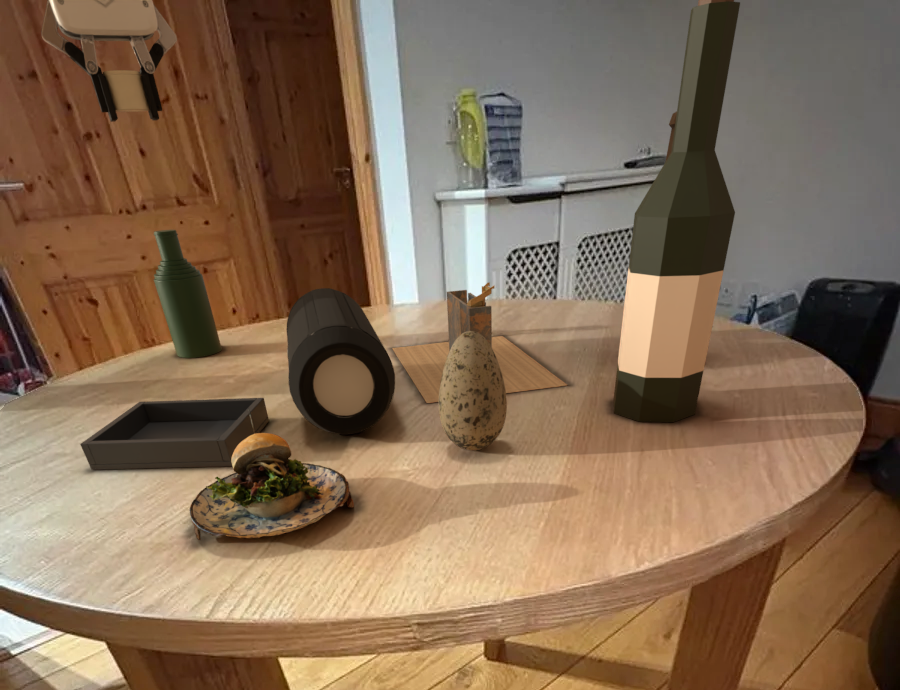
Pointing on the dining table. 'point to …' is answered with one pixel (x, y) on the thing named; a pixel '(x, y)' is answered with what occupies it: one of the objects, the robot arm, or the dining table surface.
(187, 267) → the bottle
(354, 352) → the portable speaker
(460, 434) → the decorative egg
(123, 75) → the cap
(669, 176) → the wine bottle
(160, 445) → the tray
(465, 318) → the architectural model on board
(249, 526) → the burger
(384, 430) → the dining table surface
